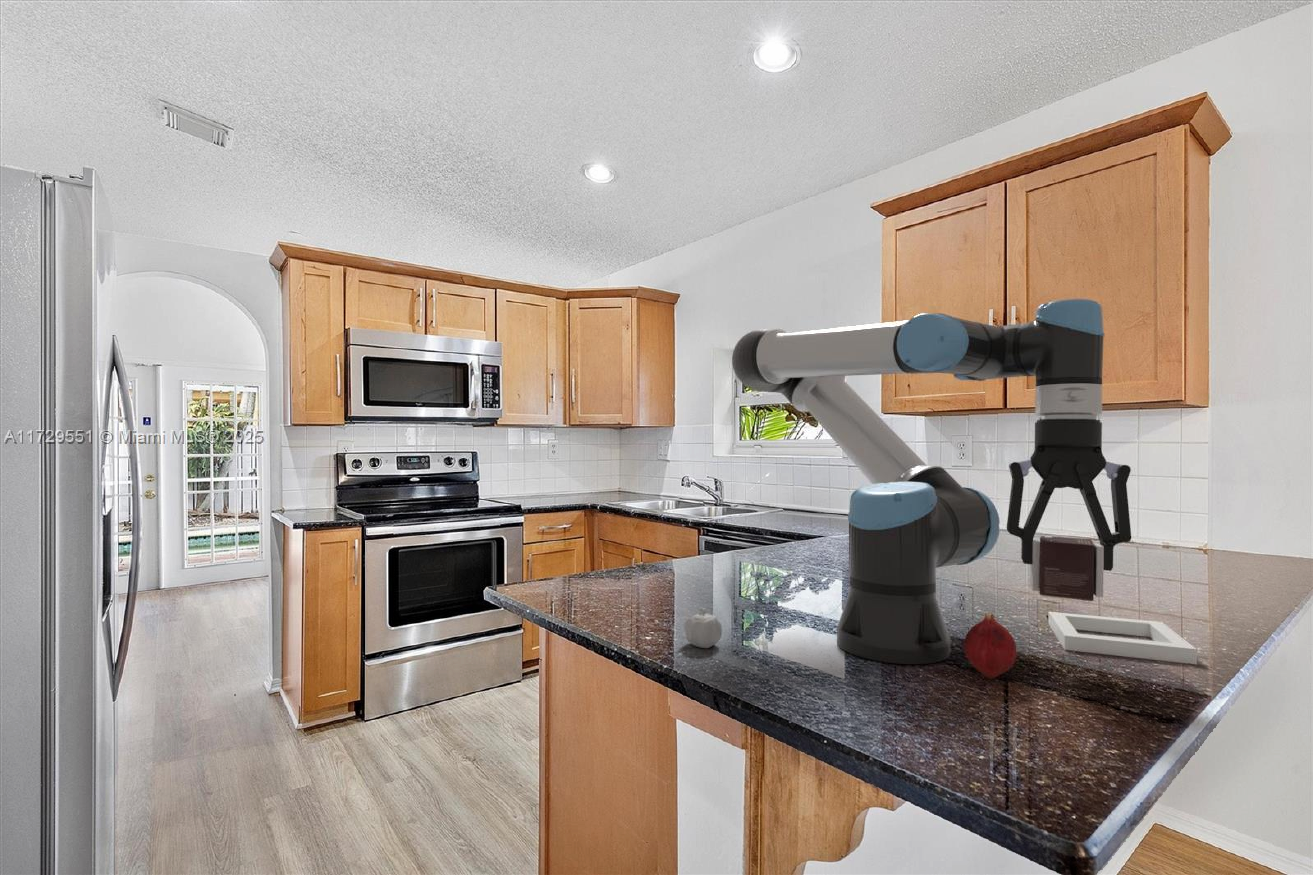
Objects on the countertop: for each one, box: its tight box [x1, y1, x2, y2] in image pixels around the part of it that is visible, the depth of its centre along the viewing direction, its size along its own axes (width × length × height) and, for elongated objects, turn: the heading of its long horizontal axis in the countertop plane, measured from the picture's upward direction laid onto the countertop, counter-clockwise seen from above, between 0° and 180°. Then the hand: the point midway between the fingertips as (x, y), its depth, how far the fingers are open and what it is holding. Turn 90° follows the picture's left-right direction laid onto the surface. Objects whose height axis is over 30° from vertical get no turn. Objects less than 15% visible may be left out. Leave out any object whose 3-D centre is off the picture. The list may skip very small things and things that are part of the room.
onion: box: [963, 612, 1018, 680], centre depth 80 cm, size 6×6×8 cm
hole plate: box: [1048, 611, 1198, 665], centre depth 95 cm, size 15×15×2 cm
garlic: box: [683, 607, 723, 649], centre depth 93 cm, size 6×5×5 cm
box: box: [1038, 535, 1095, 602], centre depth 85 cm, size 6×6×7 cm
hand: (1065, 591), depth 85 cm, fingers closed on box, 6 cm apart
